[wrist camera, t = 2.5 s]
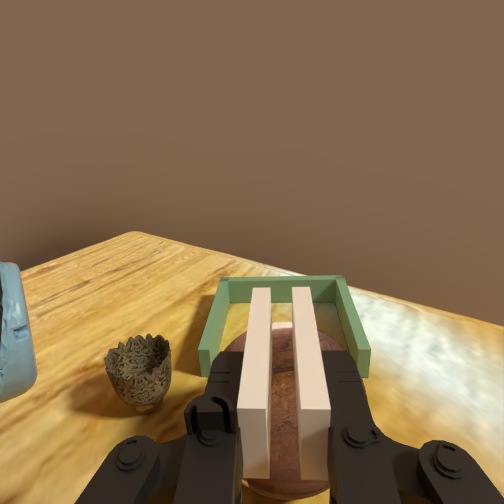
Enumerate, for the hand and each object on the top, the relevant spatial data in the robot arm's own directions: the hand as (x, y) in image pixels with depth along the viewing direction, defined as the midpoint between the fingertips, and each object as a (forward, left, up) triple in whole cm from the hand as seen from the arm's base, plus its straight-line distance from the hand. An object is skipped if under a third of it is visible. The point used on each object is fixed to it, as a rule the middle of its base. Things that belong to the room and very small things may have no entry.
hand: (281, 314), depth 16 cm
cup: (-23, +10, -25) cm, 36 cm away
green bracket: (-14, +30, -25) cm, 41 cm away
